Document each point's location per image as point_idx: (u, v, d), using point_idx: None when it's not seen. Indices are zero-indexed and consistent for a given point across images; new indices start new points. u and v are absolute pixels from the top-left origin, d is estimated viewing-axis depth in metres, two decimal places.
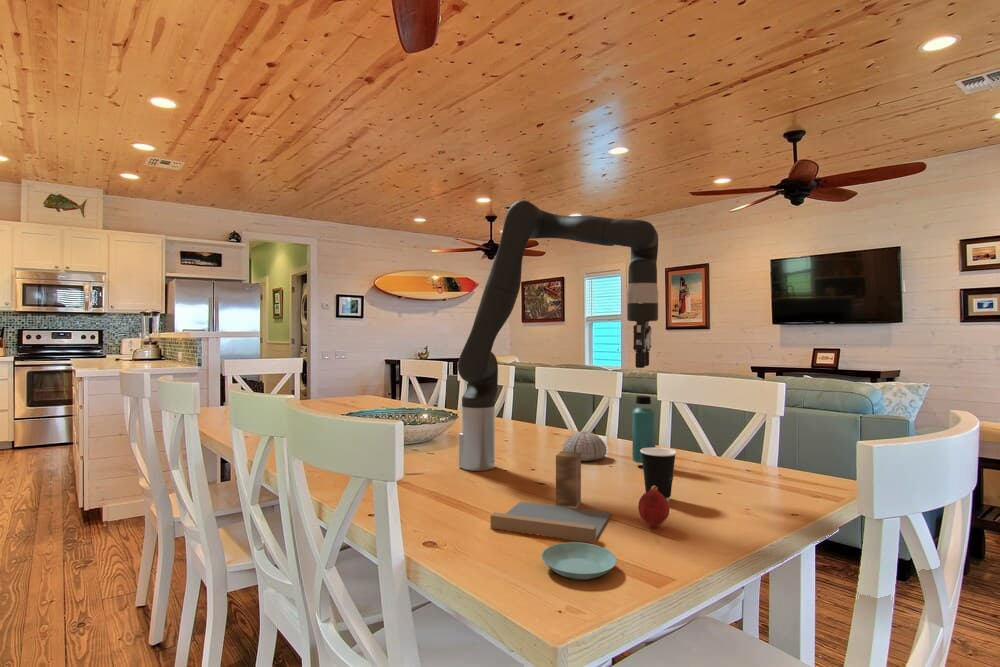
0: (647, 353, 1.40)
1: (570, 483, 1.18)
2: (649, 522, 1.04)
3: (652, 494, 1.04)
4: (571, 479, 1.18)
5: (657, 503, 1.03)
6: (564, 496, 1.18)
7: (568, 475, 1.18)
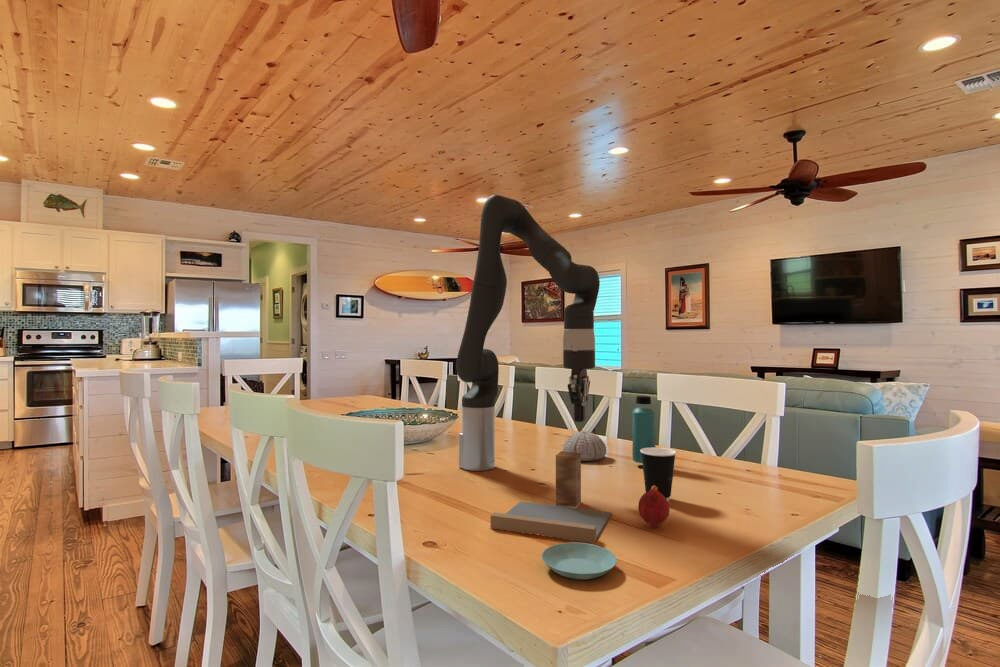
0: None
1: (570, 483, 1.18)
2: (649, 522, 1.04)
3: (652, 494, 1.04)
4: (571, 479, 1.18)
5: (657, 503, 1.03)
6: (564, 496, 1.18)
7: (568, 475, 1.18)
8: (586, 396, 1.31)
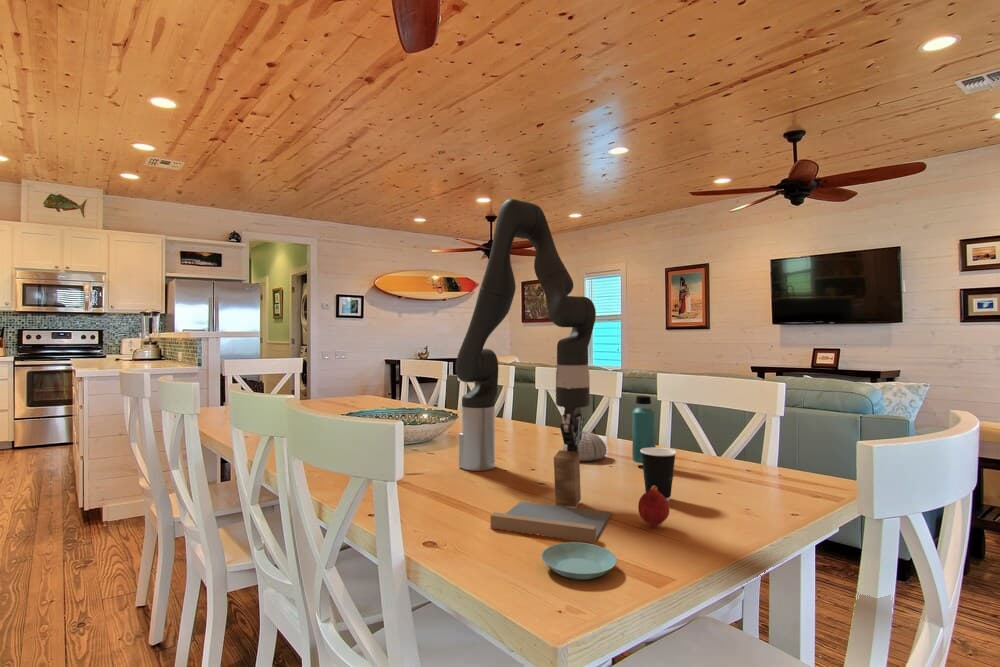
0: None
1: (569, 484, 1.17)
2: (649, 522, 1.04)
3: (651, 494, 1.04)
4: (570, 480, 1.17)
5: (657, 503, 1.03)
6: (563, 496, 1.18)
7: (567, 476, 1.17)
8: (580, 435, 1.24)
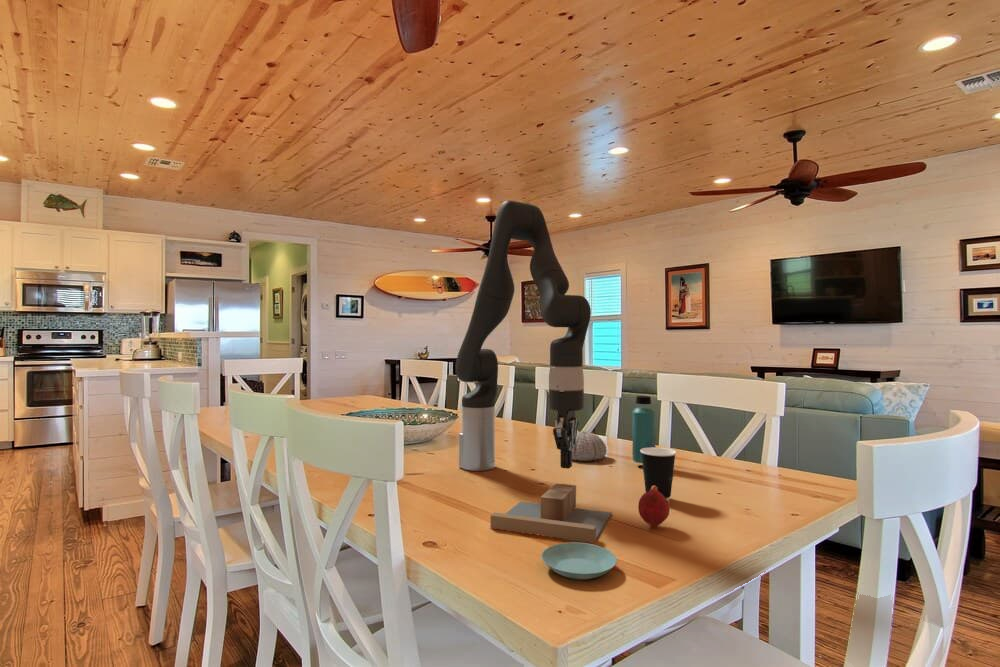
0: None
1: None
2: (649, 522, 1.04)
3: (652, 494, 1.04)
4: None
5: (657, 503, 1.03)
6: None
7: None
8: (574, 439, 1.20)
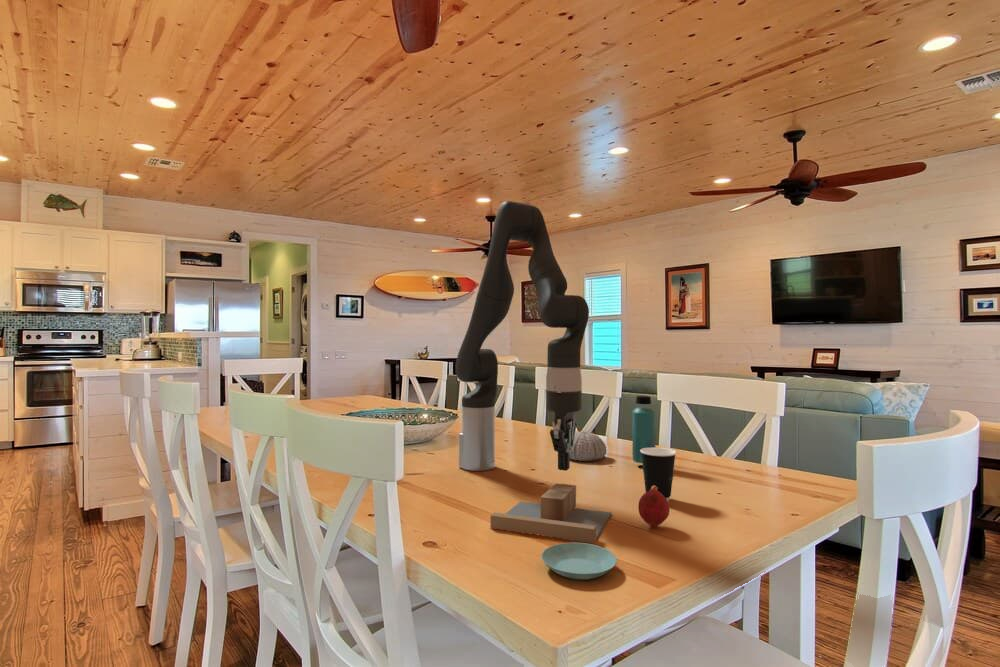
0: None
1: None
2: (649, 522, 1.04)
3: (652, 494, 1.04)
4: None
5: (657, 503, 1.03)
6: None
7: None
8: (571, 441, 1.18)
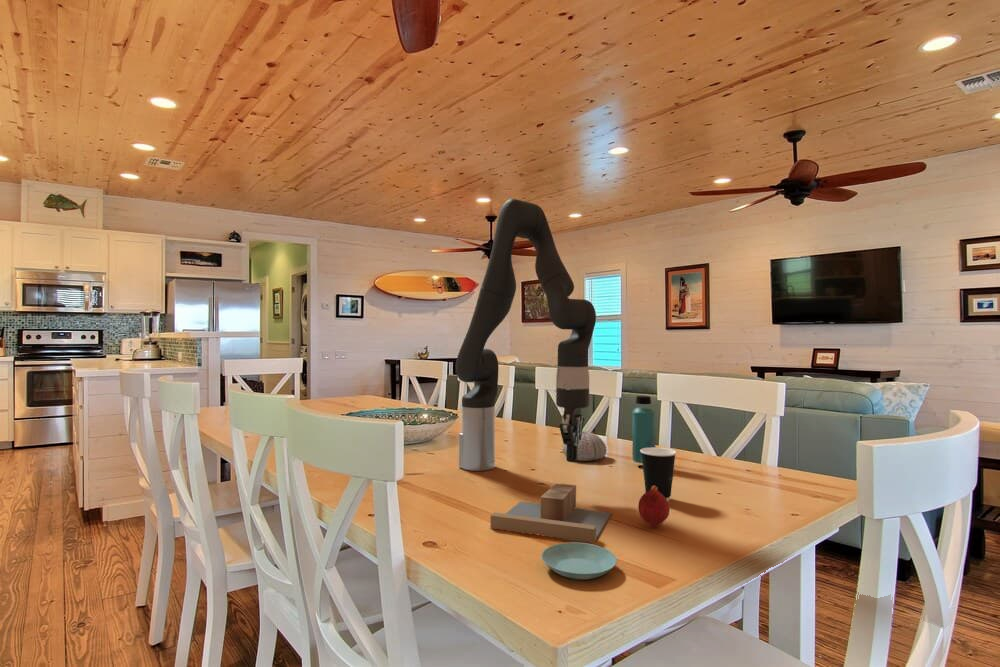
0: None
1: None
2: (649, 522, 1.04)
3: (652, 494, 1.04)
4: None
5: (657, 503, 1.03)
6: None
7: None
8: (580, 435, 1.27)
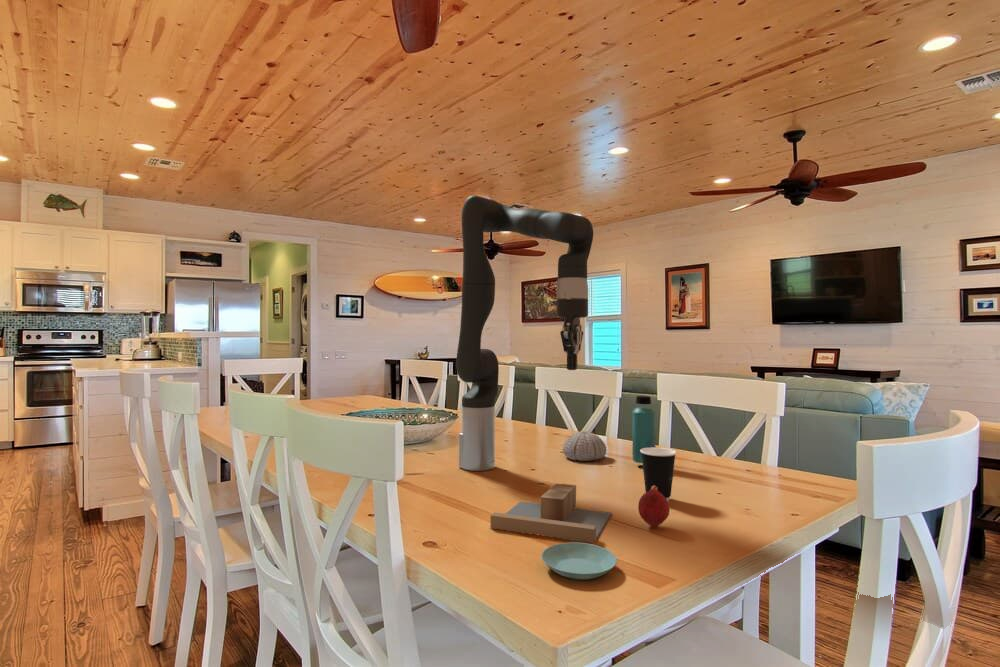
0: None
1: None
2: (649, 522, 1.04)
3: (652, 494, 1.04)
4: None
5: (657, 503, 1.03)
6: None
7: None
8: (579, 345, 1.33)
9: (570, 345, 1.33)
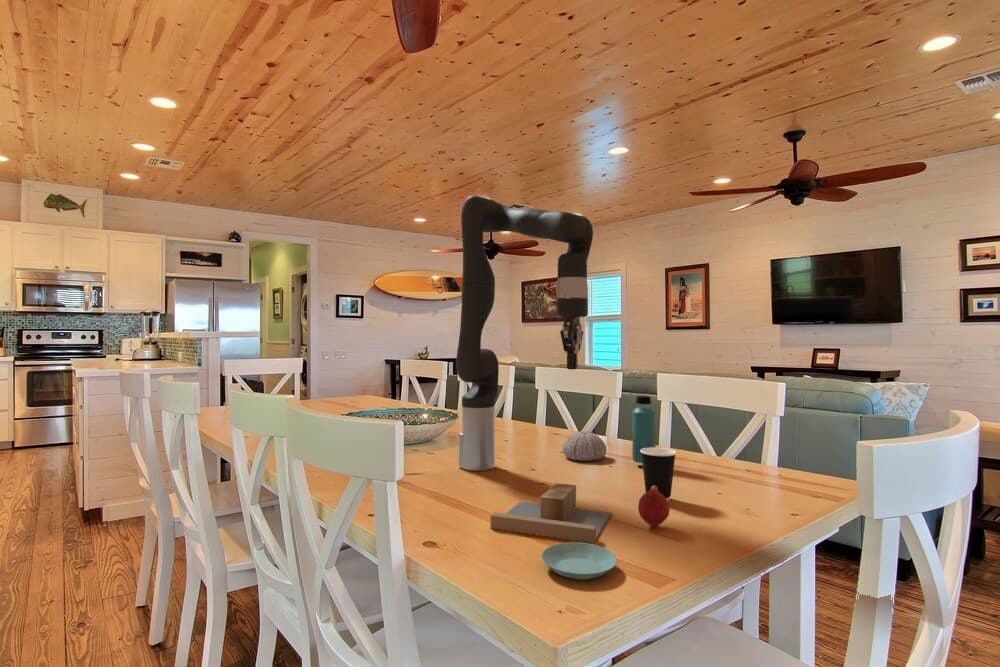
0: None
1: None
2: (649, 522, 1.04)
3: (652, 494, 1.04)
4: None
5: (657, 503, 1.03)
6: None
7: None
8: (579, 345, 1.33)
9: (570, 344, 1.33)
